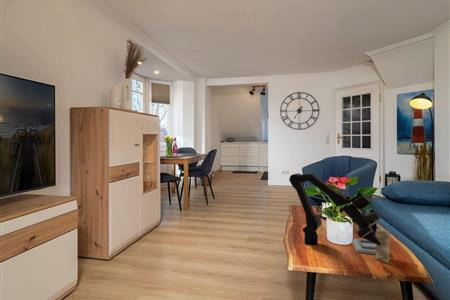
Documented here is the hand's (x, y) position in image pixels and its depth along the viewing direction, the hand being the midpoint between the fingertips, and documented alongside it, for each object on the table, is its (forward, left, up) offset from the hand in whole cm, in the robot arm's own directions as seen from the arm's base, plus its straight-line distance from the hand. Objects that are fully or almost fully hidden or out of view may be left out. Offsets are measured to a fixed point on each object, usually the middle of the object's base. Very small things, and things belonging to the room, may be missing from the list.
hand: (381, 241), depth 117 cm
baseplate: (-2, +12, -8) cm, 14 cm away
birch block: (0, 0, -8) cm, 8 cm away
